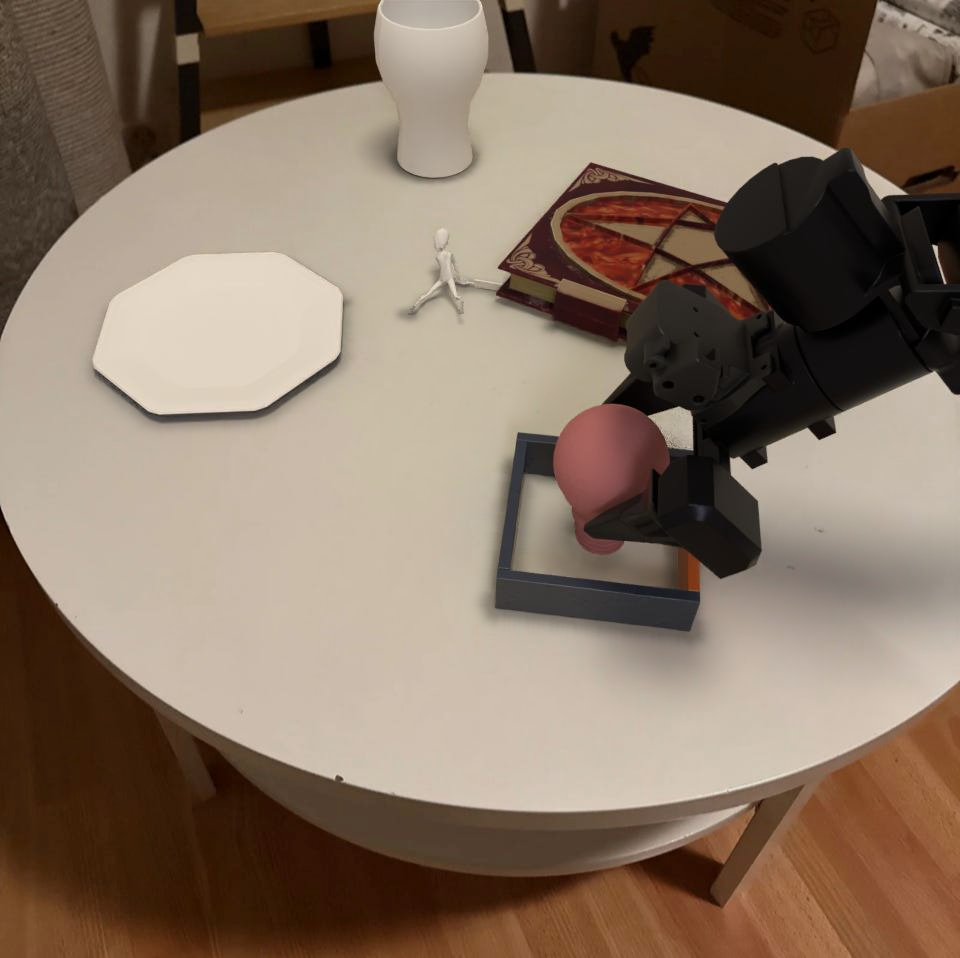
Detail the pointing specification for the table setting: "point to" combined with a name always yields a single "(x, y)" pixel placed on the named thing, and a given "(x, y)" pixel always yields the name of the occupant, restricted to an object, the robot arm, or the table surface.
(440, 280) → the action figure
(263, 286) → the plate
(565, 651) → the table surface
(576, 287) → the book
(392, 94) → the cup
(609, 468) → the pink screw bulb
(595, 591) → the square frame
